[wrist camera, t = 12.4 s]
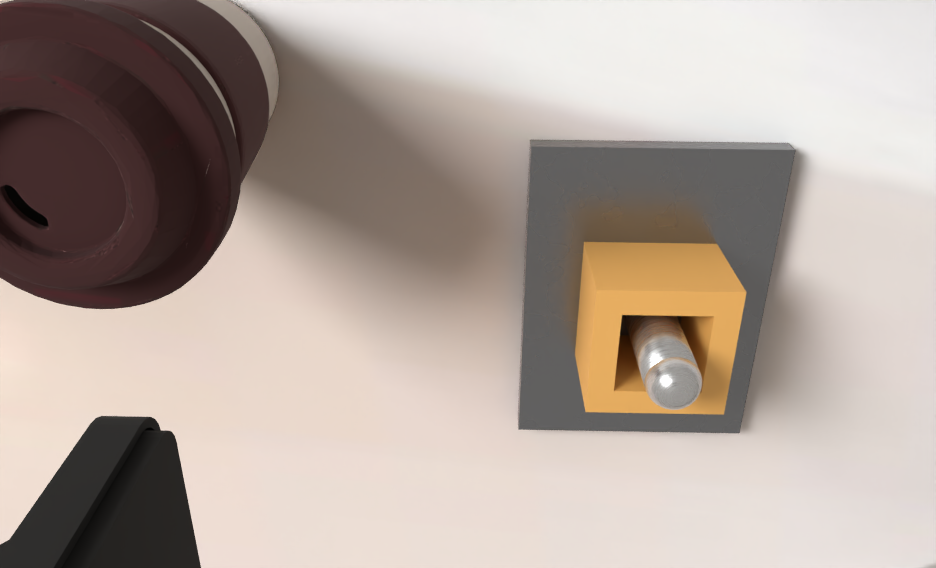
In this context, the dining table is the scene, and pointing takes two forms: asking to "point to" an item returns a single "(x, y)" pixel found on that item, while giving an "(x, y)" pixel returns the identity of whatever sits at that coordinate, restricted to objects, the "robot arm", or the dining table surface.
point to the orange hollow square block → (661, 294)
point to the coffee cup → (124, 142)
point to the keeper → (642, 221)
